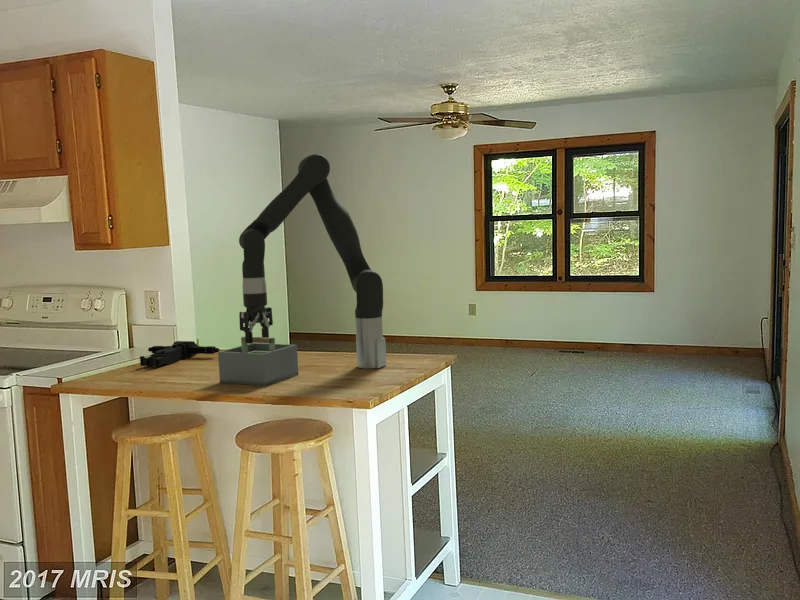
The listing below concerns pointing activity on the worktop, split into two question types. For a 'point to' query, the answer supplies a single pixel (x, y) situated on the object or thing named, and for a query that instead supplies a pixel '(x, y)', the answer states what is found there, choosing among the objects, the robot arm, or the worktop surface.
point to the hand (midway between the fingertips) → (257, 341)
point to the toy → (175, 353)
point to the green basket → (258, 340)
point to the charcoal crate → (258, 364)
